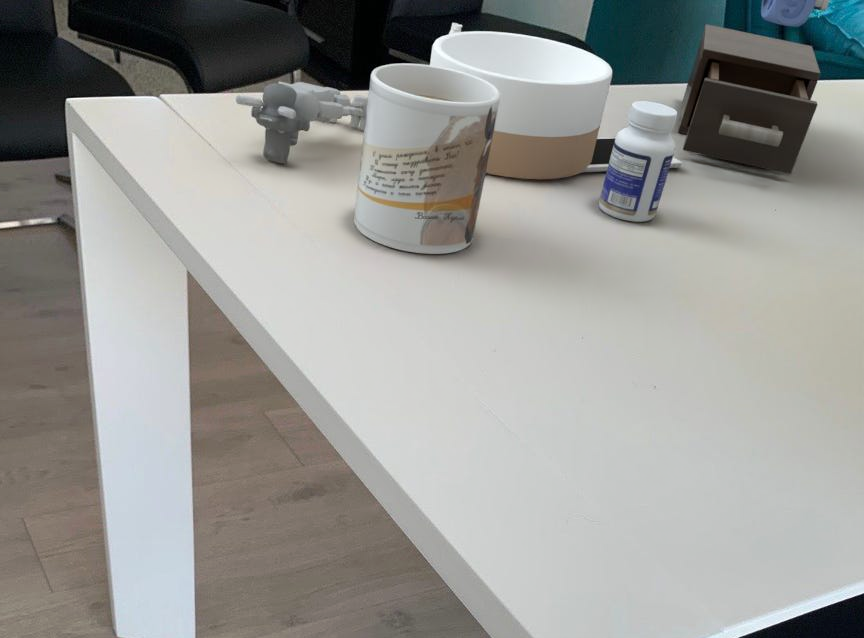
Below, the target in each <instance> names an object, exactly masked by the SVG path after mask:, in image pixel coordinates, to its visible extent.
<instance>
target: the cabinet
mask: <svg viewBox="0 0 864 638" xmlns="http://www.w3.org/2000/svg"><path fill="white" fill-rule="evenodd" d="M711 59H714V60H719V61H724V62H728V63H733V64H738V65H742V66H747V67H752V68H757V69H761V70H766V71H771V72H776V73H780V74H785V75H790V76H794V77H799V78H803V80H804V84H805V88H806V92H807V96H808V100H812V97H813V95H814V92H815V90H816V87H817V85H818V81H819V79H820V77H821V70H820V68H819V64H818V61H817V58H816V54H815V51H814V48H813V46H812V45H809V44H803V43H798V42H795V41H788V40H784V39H779V38H776V37H775V38H774V37H769V36H764V35H760V34H754V33H750V32H746V31H740V30H736V29H732V28H727V27H721V26H717V25H712V24H705V26H704V29H703V32H702V34H701V39H700V43H699V45H698V48H697V52H696V55H695V58H694V62H693V65H692V67H691V72H690V74H689V77H688V82H687V84H686V88H685V91H684V94H683V98H682V101H681V107H680V115H679V123H678V129H677V133H678V134H682V135H686V136H687V133H688V130H689V127H690V124H691V121H692V117H693V114H694V111H695V108H696V105H697V101H698V98H699V95H700V92H701V89H702V85H703V82H704V79H705V78H706V75H707V72H708V69H709V66H710V62H711Z"/></svg>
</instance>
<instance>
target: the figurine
mask: <svg viewBox="0 0 864 638" xmlns="http://www.w3.org/2000/svg"><path fill="white" fill-rule="evenodd" d="M235 102H236V104H237V105H242V106H247V107H251V112H250V115H251V117H252V118H254V119H255V121H256V123H257V124H258V125H259V126H260V127H264V129H265V130H264V147H263V151H262V155H263V157H264V158H265V159H266V160H268V161H270V162H272V163H276V164H288V163H289V161H288V159H289V155H290V149H291V147H293V146H297V144H298V140H299V132H301V131H303V132H307V133H308V132H309V130H310V125H311V124H310V122H319V123H331V124H336V123H337V122H338V120H341V119H342V118H343V117H348V116H350V128H353V129H358V128H359V130H360V131H362V132H364V129H365V120H366V111H367V103H368V96H364V95H358V94H357V95H355V96H354V97H353V100H352V102H351V98H350V97H349V96H348V95H347V94H341V91H340V90H338V89H337V88H333V87H329V86H325V87H324V86H320V85H317V84H311V83H307V82H304V81H298V82H297V81H296V82H294V83H288V82H284V81H280V80H279V81H278V82H271V83H269V84H267V85H266V86H265V87H264V89H263V92H262V99H261V98H258V97H252V96H246V95H241V94H239V95H237V96H236V97H235Z"/></svg>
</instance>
